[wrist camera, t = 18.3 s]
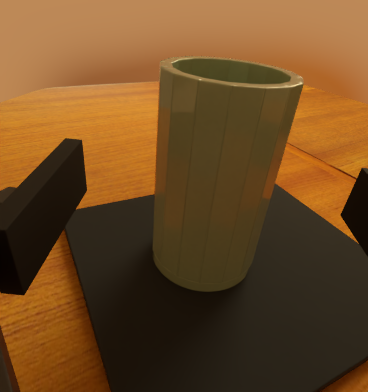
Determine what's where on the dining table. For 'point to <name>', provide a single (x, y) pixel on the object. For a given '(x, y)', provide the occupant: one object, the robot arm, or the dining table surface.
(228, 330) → the mat
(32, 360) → the dining table surface
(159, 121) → the cup
